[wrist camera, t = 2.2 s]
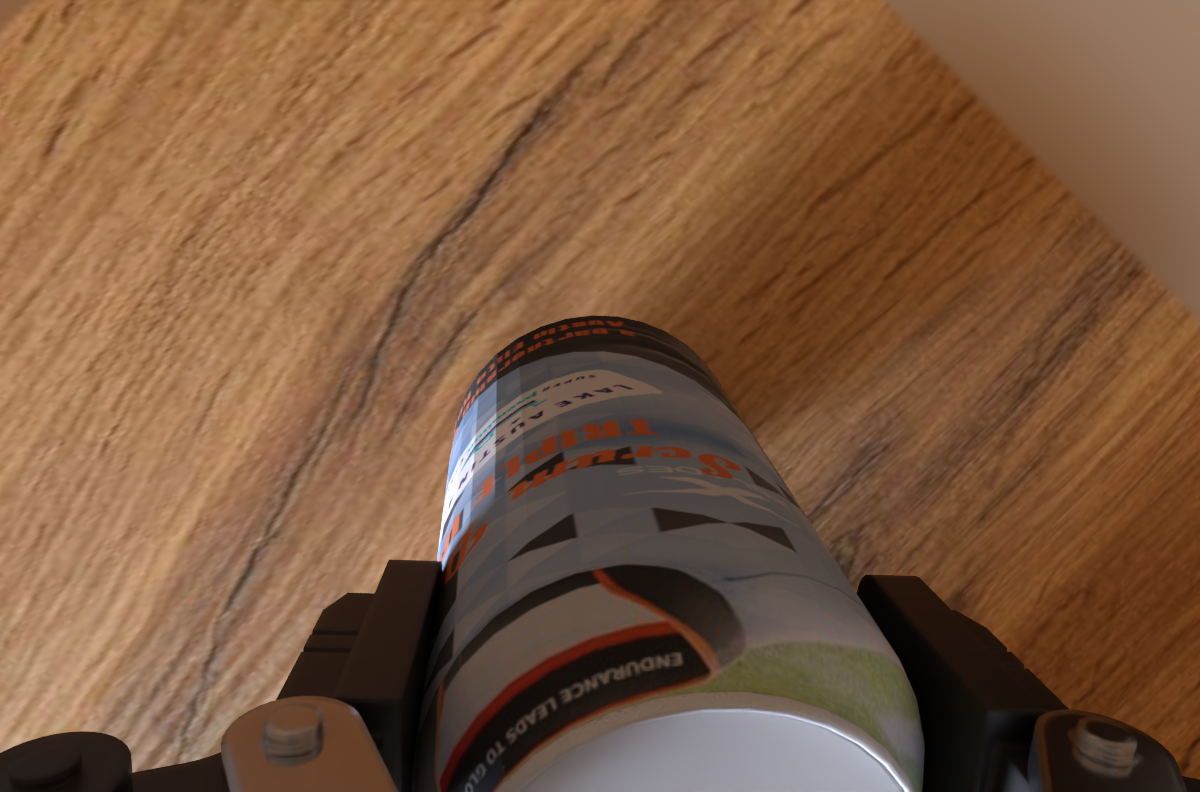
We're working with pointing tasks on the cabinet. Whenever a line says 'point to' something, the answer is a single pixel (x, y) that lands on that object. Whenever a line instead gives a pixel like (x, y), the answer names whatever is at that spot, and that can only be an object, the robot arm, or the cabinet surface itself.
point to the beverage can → (642, 594)
